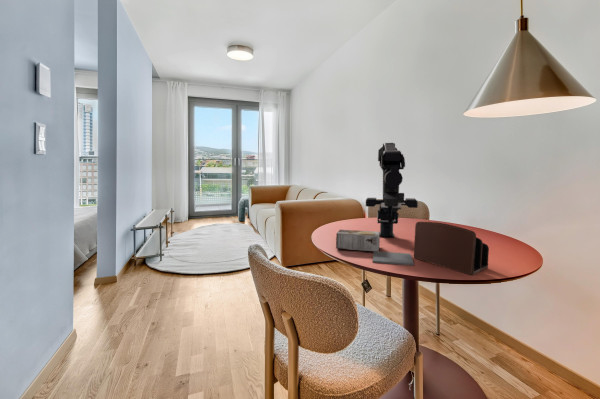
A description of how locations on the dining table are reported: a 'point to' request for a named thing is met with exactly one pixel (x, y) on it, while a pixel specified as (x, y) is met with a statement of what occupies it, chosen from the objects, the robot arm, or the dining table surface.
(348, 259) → the dining table surface
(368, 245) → the coffee box
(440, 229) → the letter holder
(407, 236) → the dining table surface
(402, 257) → the mat
